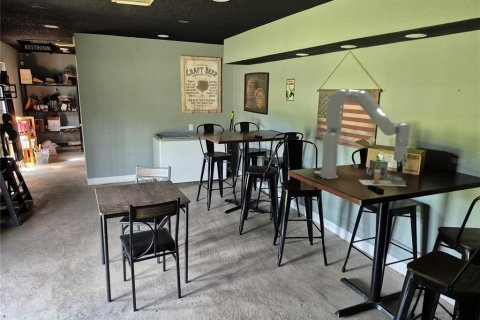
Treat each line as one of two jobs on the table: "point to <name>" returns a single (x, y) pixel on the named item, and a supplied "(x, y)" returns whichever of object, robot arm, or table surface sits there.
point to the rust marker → (377, 176)
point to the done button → (397, 179)
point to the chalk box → (378, 167)
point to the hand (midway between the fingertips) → (399, 172)
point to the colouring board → (384, 182)
